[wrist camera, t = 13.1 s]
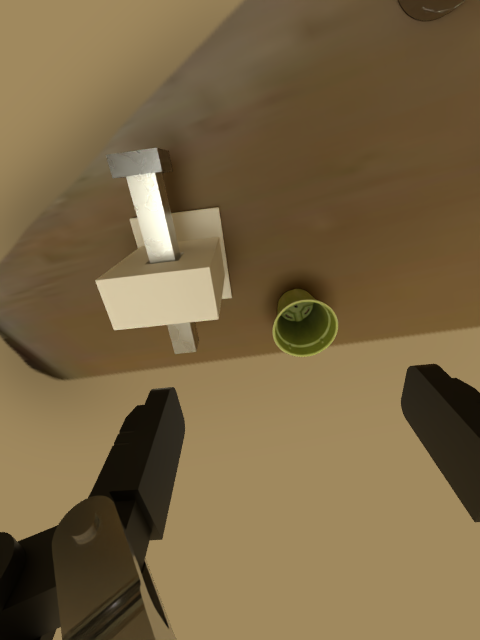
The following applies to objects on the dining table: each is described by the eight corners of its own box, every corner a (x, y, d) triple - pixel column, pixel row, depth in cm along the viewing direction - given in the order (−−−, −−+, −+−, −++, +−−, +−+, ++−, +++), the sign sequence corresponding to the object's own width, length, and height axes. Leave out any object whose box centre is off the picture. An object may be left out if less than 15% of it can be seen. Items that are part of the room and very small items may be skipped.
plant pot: (258, 316, 49) (261, 343, 41) (284, 269, 45) (293, 289, 37) (304, 335, 51) (315, 365, 43) (333, 292, 47) (351, 315, 39)
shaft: (124, 157, 31) (105, 155, 27) (168, 151, 31) (156, 147, 27) (174, 339, 42) (166, 358, 38) (206, 335, 42) (202, 355, 38)
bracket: (131, 218, 41) (75, 242, 27) (218, 206, 41) (207, 225, 26) (156, 303, 48) (121, 359, 34) (231, 295, 47) (228, 348, 33)
